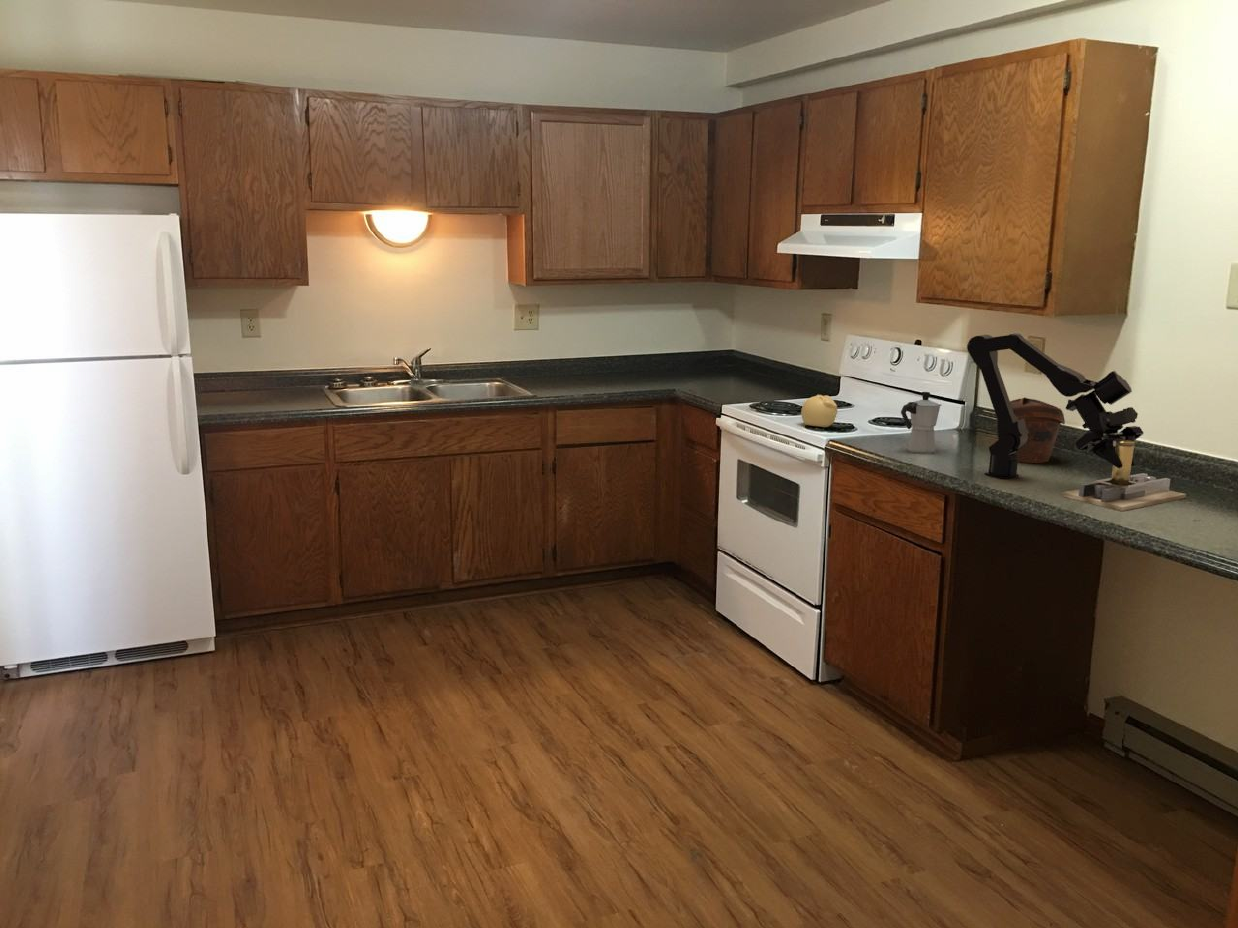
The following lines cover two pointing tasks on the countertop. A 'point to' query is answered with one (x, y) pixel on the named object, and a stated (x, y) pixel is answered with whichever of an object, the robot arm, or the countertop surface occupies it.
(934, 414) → the coffee maker
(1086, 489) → the grey slotted tray
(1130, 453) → the pin
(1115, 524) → the countertop surface
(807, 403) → the tan round lump
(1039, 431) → the reddish brown pot
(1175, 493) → the board
